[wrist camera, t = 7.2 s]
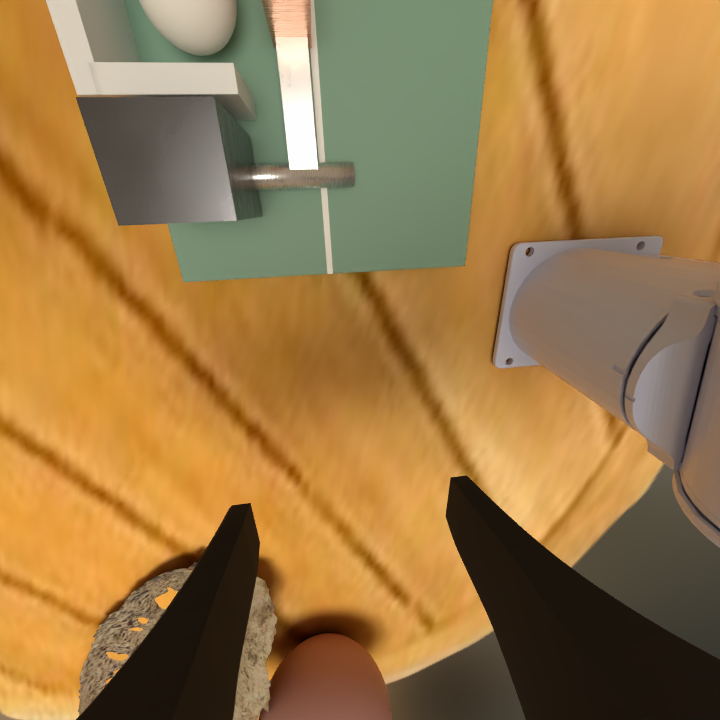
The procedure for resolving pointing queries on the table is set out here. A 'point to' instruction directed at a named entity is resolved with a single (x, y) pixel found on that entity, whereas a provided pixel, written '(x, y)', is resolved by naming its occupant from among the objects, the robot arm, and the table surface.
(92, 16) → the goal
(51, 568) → the table surface
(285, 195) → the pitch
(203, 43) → the ball
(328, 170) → the knob lever
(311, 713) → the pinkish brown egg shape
